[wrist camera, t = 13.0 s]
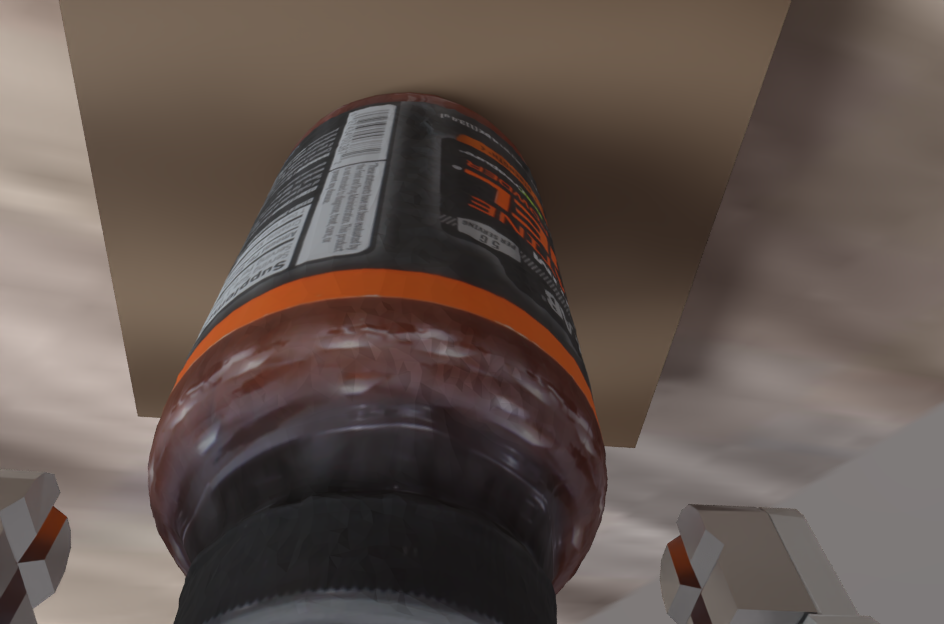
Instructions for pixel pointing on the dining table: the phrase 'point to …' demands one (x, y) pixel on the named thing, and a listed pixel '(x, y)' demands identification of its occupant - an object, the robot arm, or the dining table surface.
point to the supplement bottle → (385, 392)
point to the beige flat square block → (427, 72)
